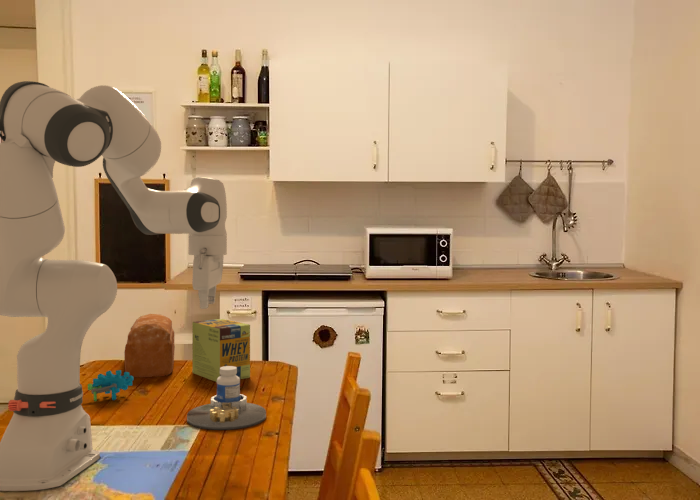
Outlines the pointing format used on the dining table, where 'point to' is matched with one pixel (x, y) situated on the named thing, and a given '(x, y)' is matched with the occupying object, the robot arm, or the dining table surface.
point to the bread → (150, 347)
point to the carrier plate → (242, 422)
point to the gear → (110, 383)
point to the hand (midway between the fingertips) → (207, 306)
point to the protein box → (220, 347)
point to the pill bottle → (228, 385)
